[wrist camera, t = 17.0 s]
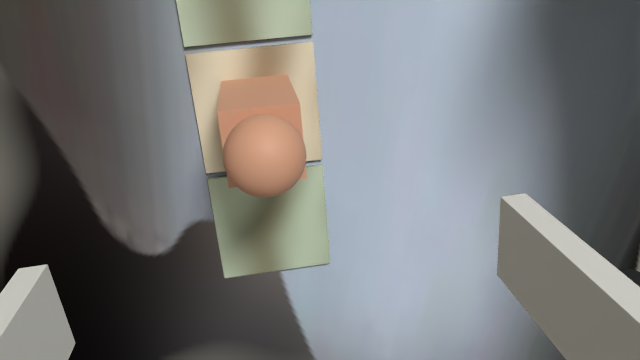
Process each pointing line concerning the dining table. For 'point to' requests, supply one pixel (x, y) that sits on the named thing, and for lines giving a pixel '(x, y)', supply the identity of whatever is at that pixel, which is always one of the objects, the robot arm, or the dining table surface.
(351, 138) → the dining table surface
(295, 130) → the orange-brown peg figure
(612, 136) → the dining table surface
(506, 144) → the dining table surface
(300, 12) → the track
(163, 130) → the dining table surface
